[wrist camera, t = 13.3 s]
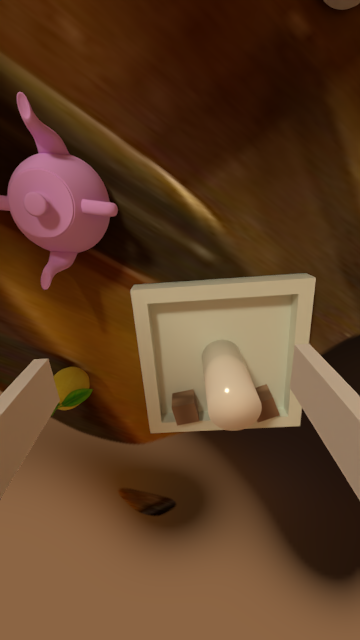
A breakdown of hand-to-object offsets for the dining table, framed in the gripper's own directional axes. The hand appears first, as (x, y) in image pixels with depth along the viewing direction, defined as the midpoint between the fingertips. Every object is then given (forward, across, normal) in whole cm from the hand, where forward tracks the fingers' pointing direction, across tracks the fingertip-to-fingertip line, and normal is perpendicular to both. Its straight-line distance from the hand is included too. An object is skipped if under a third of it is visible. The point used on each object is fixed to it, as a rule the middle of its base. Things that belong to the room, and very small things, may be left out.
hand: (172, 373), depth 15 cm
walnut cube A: (+24, 0, -21) cm, 32 cm away
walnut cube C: (+24, +12, -21) cm, 34 cm away
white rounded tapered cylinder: (+24, +6, -13) cm, 28 cm away
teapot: (+26, -13, +9) cm, 31 cm away
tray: (+25, +6, -13) cm, 29 cm away
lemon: (+26, -17, -16) cm, 34 cm away
